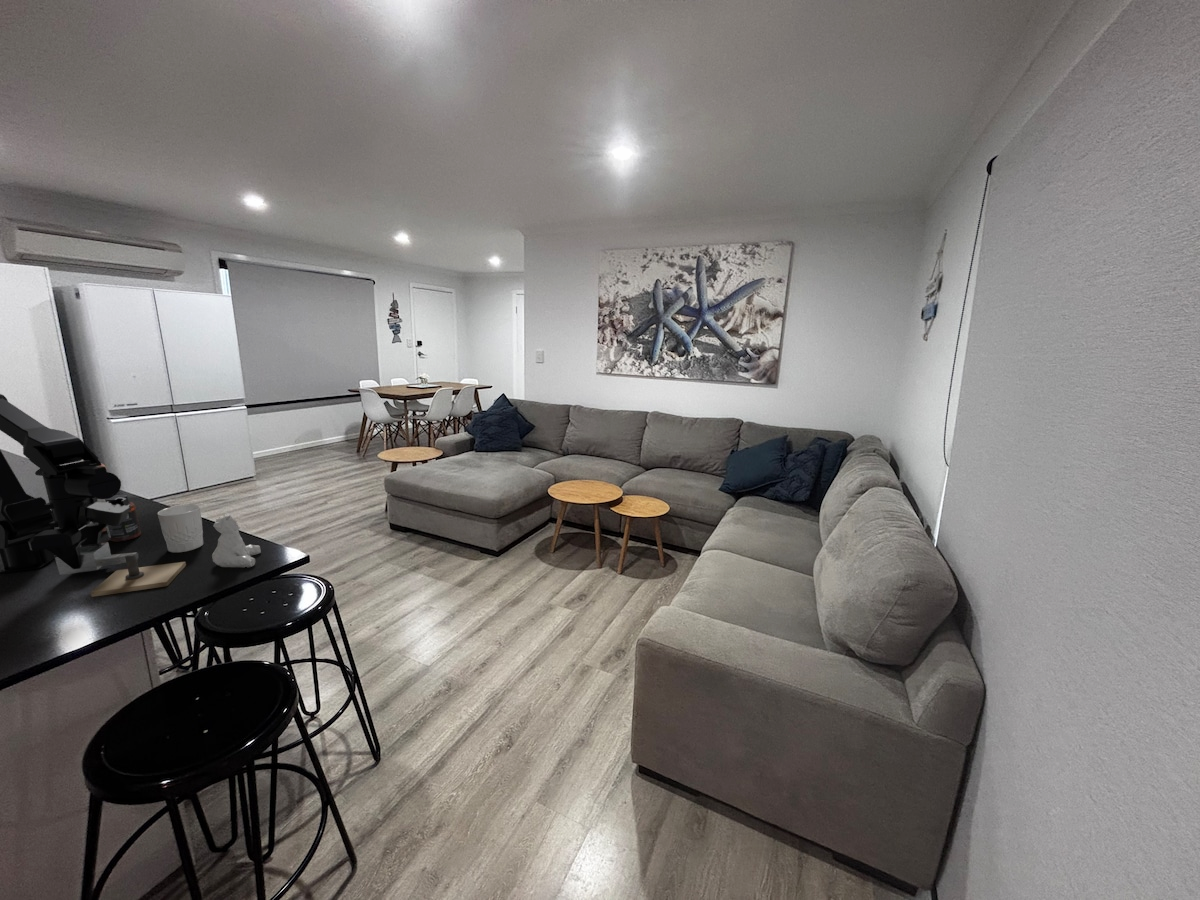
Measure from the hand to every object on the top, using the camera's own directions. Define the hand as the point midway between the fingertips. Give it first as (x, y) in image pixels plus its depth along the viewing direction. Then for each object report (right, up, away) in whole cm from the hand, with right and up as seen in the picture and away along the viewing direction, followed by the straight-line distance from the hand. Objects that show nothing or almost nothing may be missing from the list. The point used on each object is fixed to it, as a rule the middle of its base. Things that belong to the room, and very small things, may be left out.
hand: (85, 562), depth 102 cm
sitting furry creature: (+28, -2, +7) cm, 29 cm away
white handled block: (+2, -1, +1) cm, 3 cm away
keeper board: (+14, -3, -2) cm, 15 cm away
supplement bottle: (-10, +2, +19) cm, 21 cm away
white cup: (+10, 0, +14) cm, 17 cm away
